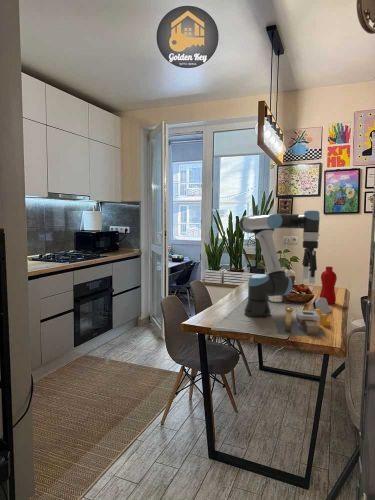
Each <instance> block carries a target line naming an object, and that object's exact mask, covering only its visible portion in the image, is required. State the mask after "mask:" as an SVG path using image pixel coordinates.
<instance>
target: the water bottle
mask: <svg viewBox="0 0 375 500" xmlns="http://www.w3.org/2000/svg"><path fill="white" fill-rule="evenodd" d="M333 268H334V267H333V266H325V270H324V271H322V273H321V275H320V281H321V290H320V293H319V298H326V300H327V303H328V305H334V304H335V303H336V302H337V300H336V299H337V297H336V291H335V286H336V283H337V280H338V276H337V273H336V272H334V271H333V270H334V269H333Z"/></svg>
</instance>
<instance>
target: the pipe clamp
mask: <svg viewBox="0 0 375 500" xmlns="http://www.w3.org/2000/svg"><path fill="white" fill-rule="evenodd" d="M314 311H316V312H317V313H318V315H319V316H320V321H318V320H317V323H318V325H319V326H322V327H327V326H328V327H330V326H331V320H330V319H328V313H327V314H320V310H319V309H314Z"/></svg>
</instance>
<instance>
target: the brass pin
mask: <svg viewBox="0 0 375 500" xmlns="http://www.w3.org/2000/svg"><path fill="white" fill-rule="evenodd" d="M284 311H285V320H284V321H285V332H287V333H291V328H292V322H293V311H294V307H292V306H285V307H284Z"/></svg>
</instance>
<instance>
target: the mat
mask: <svg viewBox="0 0 375 500" xmlns="http://www.w3.org/2000/svg"><path fill="white" fill-rule="evenodd" d="M274 323H275V326H276V330H277V333H278V335H286V336H287V335H288V336H302V337H313V338H315V337H317V338H327V336H326V334H324V332H323V330H322V329H321V328H320V330H318V336H314V335H307V334H306V329H299V328H298V326H297V324H296V321H292V328H291V333H287V332H285V320H274Z"/></svg>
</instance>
